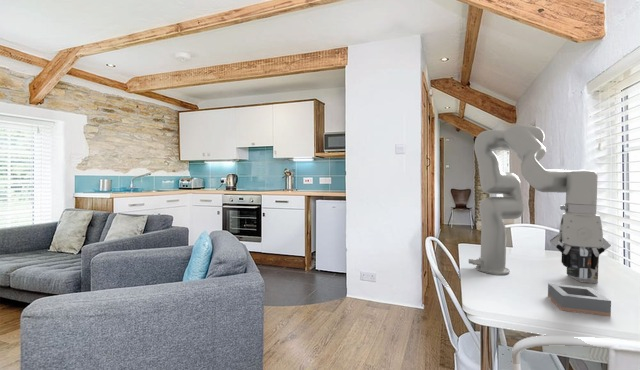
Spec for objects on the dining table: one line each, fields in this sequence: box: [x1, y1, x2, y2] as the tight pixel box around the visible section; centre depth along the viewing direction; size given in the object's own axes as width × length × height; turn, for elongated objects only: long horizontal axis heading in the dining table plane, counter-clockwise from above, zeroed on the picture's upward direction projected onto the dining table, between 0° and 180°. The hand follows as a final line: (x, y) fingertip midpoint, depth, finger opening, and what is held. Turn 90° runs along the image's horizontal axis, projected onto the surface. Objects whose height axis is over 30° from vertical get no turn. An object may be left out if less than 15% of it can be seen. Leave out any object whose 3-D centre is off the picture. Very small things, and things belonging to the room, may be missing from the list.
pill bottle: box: [566, 246, 592, 279], centre depth 101 cm, size 6×6×11 cm
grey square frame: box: [547, 282, 612, 317], centre depth 102 cm, size 12×12×4 cm
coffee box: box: [567, 255, 600, 284], centre depth 129 cm, size 9×6×16 cm
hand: (578, 266), depth 102 cm, fingers closed on pill bottle, 6 cm apart
